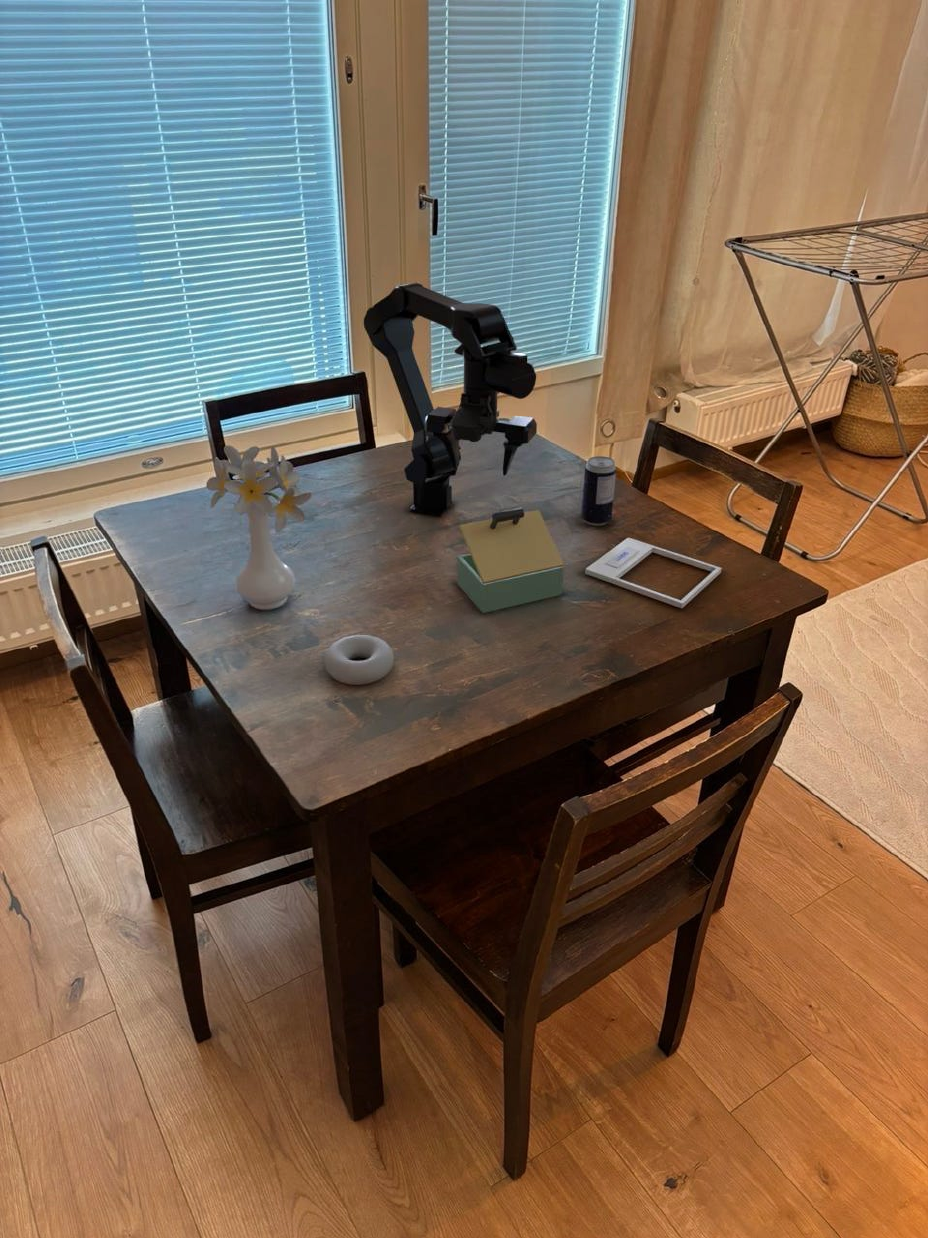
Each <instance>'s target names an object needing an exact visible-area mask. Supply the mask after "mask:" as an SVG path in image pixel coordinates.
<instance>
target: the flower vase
mask: <svg viewBox="0 0 928 1238" xmlns="http://www.w3.org/2000/svg"><path fill="white" fill-rule="evenodd" d="M223 451H224V452H223V453H224V454H225V456H226V457H227V460H226V459H221V460H220V459H219V458H218V457H217V456H215V457H214V459H213V468H214V472H215V474H216V475H217V476H212V477H209V479H207V481H206V483H205V484H206V485H205V486H206V487H205V488H206V489H207V490H208V491H215V492H214V493H213V495H212V497H211V501H210V508H211V509H212V508H214V507H215V505H216V504H217V503H218V502H219V501H220V499H223V498H224V496H225V494H226V493H227V492H228V493H230V494H233V495H235V496H239V498H238V499H237V501H236V504H235V512H236V514H237V515H239V516H242V515H245V514H246V515H247V516H246V517H247V521H248V530H249V540H250V541H249V542H250V552H249V557H248V559H247V560H248V561H247V563H246V564H245V565H244V566H243V567H242V568H241V569H240V571H239V572H238V574H237V578H236V582H235V583H236V584H235V586H236V591H237V593H238V594H239V596H241V597H242V598H243V599H244V600H246V601H247V602H248V603H249V605H250V606H251V607H253V608H254V609H256V610H261V611H267V610H268V611H269V610H275V609H278V608H280V607H282V606H283V605H285V604H286V602H287V601H288V597H289V596H290V595H291V594H292V593H293V591H294V590H295V587H296V583H297V579H296V576H295V574H294V571H293V570H292V568H291V567H290V566H289V565H288V564H286V563H285V562H283V561H282V560H280V558H279V557H278V555H277V554H276V551H275V550H274V546H273V542H272V537H271V536H272V535H271V532H270V531H271V530H270V524H269V517H270V518H271V517H276V520H275V524H274V530H275V532H276V533H281V532H282V531H283V529H284V528H285V526H286V525H287V521H288V518H289V519H290V520H291V521H292V522H295V523H303V522H304V520H305V518H306V515H305V513H304V510H302V509H301V508H300V507H299V506H300V505H303V504H305V503H307V501H309V500H310V499H311V497H312V492H310V491H306V492H301V490H300V489H299V487H298V484H299V483H300V481H301V475H300V473H299V471H296V470H294V465H293V464H292V463H291V462H290V461H287V460H286V457H285V455H283V454H281V456H280V457H279V454H278V451H277V449H276V448H275V446H273V445H271V447H270V457H267V458H266V463H265V462H263V461H259V460H255V459H256V458H257V456H258V455H259V453H260V448H259V447H258V446H256V445H255V446H251V447H249V448H248V449H246V450H245V451H244V452H243V454H242V455H241V453H240V451H238V449H237V448H236V447H234V446H232V445H225V446H224V447H223ZM230 475H233V476H232V479H233V480H232V479H231V477H230ZM277 489H280V490H281V491H283V492H284V494H283V495H282V496H281V498H280V496H278V495H277V494H275V493H274V492H272V491H274V490H277ZM270 496H271V497H272V498H274V499H275V500H277V502H276V504H274V505H273V504H272V502H271V500H270Z"/></svg>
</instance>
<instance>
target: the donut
mask: <svg viewBox="0 0 928 1238" xmlns="http://www.w3.org/2000/svg"><path fill="white" fill-rule="evenodd" d="M323 658H324V659H323V663H324V667H325V671H326V672H327V673H328V674H329V675H330V676H331V678H333V679H335V680H336V681H338V682H340V683H343V684H347V685H352V686H353V685H354V686H361V685H368V684H372V683H374V682H378V681H379V680H381V679H382V678H384V677H385V676H387V675H388V674H389V672H391V670H392V668H393V665H394V661H395V655H394V652H393V649H392V647H391V646H390V645H389V644H388V643H387V642H386V641H385V640H383V639H381V638H379V637H377V636H373V635H369V634H356V635H349V636H346V637H342V638H340V639H338V640H336V641H335V642H333V643H332V644H331V645H330V646H329V647H328V648H327V650H326V652H325V654H324V657H323ZM353 659H364V660H353Z"/></svg>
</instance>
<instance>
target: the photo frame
mask: <svg viewBox="0 0 928 1238" xmlns="http://www.w3.org/2000/svg"><path fill="white" fill-rule="evenodd" d="M652 553H654V554H658V555H660V556H662V557H666V558H669V559H672V560H675V561H678V562H680V563H685V564H686V565H690V566H693V567H696V568H698V569H703V570H705V571H708V572H710V573H709V574H708V575H707V576H706V577H705V578H703V580H702V581H700V582H699V583H698V584H697V585H695V587H694V588H693V589H692V590H690V591H689V593H687V594H686V595H685V596H684V597H682V598H681V600H680V599H678V598H675V597H672V596H669V595H667V594H663V593H661V592H658V591H655V590H652V589H650V588H647V587H645V586H641V585H638V584H636V583H632V582H630V581H627V580H624V579H621V577H623V576H625V574H627V573H628V572H629V571H630V570H632V569H633V568H634V567H636V566H637V565H638V564H639V563H640V562H642V561H643V560H644V559H646V558H647V557H648V556H649V555H651V554H652ZM722 569H723V568H722V567H720V566H716V565H715V564H711V563H707V562H705V561H702V560H698V559H696V558H692V557H689V556H687V555H683V554H681V553H677V552H674V551H671V550H668V549H665V548H662V547H659V546H656V545H652V544H650V543H646V542H644V541H640V540H637V539H635V538H631V537H626V538H625V539H624V540H623V541H621V542H620V543H618V544H617V545H616V546H614V547H613V548H612V549H610V550H609V551H608V552H606V553H604V555H602V556H601V557H599V558H598V559H597V560H595V561H594V562H592V564H590V565H589V566H587V567H585V569H584V574H585V575H588V576H591V577H593V578H595V579H599V580H602V581H604V582H607V583H610V584H612V585H615V586H617V587H621V588H624V589H625V590H629V591H632V592H635V593H638V594H640V595H643V596H646V597H649V598H652V599H655V600H657V601H659V602H663V603H665V604H669V605H671V606H674V607H677V608H679V609H683V608H684V607H686V605H687V604H689V603H690V602H691V601H692V600H693V599H694V598H695V597H696V596H697V595H698V594H700V593H701V592H702V591H703V590H704V589H705V588H706V587H708V585H710V583H712V581H714V579H716V578H717V577H718V576H719V575H720V574H721V573H722Z"/></svg>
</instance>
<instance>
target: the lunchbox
mask: <svg viewBox="0 0 928 1238" xmlns="http://www.w3.org/2000/svg"><path fill="white" fill-rule="evenodd" d="M563 577H564V565H563V566H562V567H557V568H553V569H548V570H544V571H539V572H535V573H530V574H526V575H521V576H517V577H512V578H508V579H503V580H499V581H494V582H490V583H485V584H483V583H482V580H481V578H480V575H479V573H478V571H477V568H476V566H475V563H474V561H473V559H472V556H471V554H470V553H466V554H462V555H461V554H460V555H457V557H456V584H457V585H458V586H459V587H460V589H461V590H462V591H463V592H464V593H465V594H466V596H467V597H468V599H470V601H471V602H473V603H474V605H475V606H476V607H477V609H479V611H480V612H481V613H482V614H487V613H491V612H494V611H498V610H503V609H507V608H511V607H516V606H520V605H524V604H528V603H529V604H530V603H532V602H537V601H542V600H544V599H549V598H554V597H558V596H562V592H563Z"/></svg>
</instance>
